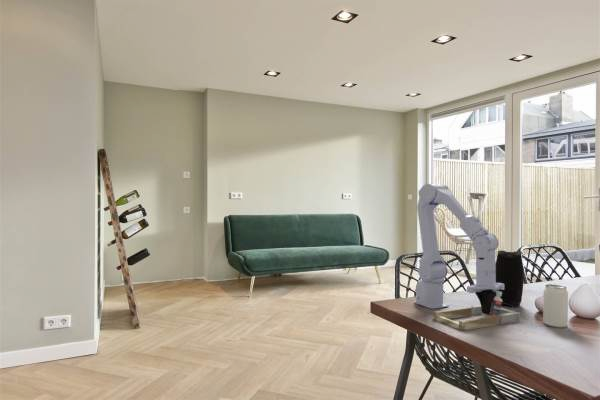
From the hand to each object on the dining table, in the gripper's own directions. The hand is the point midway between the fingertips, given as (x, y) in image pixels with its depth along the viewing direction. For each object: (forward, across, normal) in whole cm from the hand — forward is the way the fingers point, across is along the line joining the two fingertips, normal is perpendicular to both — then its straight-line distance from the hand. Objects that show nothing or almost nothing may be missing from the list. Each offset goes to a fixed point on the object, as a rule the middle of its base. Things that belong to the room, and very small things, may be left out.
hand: (486, 313), depth 131 cm
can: (+3, +16, -12) cm, 20 cm away
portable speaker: (+2, +23, +10) cm, 25 cm away
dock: (+2, +6, +1) cm, 6 cm away
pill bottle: (+2, +2, 0) cm, 3 cm away
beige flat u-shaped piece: (+2, -8, +1) cm, 8 cm away
